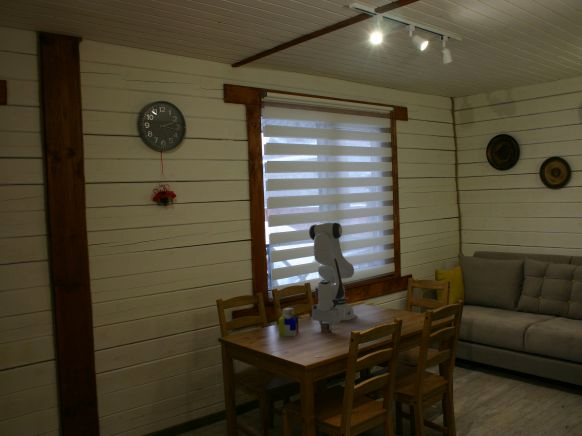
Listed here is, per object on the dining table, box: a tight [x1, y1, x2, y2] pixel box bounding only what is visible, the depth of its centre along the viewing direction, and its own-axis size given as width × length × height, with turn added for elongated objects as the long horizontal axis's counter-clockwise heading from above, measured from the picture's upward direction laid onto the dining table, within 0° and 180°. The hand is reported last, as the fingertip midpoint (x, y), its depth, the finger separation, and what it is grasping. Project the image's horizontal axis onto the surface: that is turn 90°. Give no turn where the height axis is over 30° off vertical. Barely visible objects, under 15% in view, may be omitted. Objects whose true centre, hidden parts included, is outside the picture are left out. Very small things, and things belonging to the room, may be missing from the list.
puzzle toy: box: [278, 315, 299, 337], centre depth 319 cm, size 10×10×10 cm
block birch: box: [281, 307, 295, 319], centre depth 319 cm, size 5×5×6 cm
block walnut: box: [320, 322, 332, 334], centre depth 321 cm, size 4×4×5 cm
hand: (326, 329), depth 321 cm, fingers closed on block walnut, 4 cm apart
